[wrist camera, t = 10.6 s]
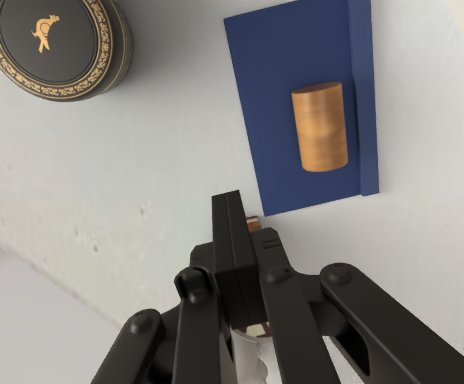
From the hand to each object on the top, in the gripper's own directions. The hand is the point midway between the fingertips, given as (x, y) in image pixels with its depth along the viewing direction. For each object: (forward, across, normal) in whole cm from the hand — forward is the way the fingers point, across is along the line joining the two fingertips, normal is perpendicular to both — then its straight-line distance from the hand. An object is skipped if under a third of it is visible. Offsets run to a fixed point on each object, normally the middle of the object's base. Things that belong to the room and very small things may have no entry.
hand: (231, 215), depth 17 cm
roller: (+16, +10, -1) cm, 19 cm away
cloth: (+19, +10, 0) cm, 22 cm away
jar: (+20, -10, +12) cm, 25 cm away
